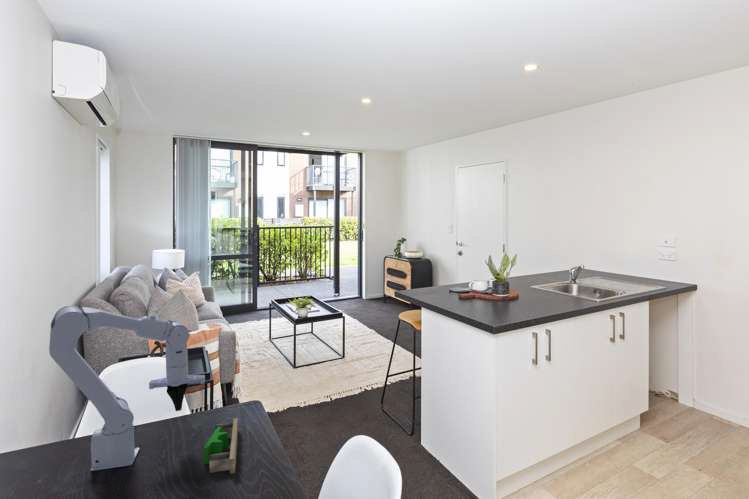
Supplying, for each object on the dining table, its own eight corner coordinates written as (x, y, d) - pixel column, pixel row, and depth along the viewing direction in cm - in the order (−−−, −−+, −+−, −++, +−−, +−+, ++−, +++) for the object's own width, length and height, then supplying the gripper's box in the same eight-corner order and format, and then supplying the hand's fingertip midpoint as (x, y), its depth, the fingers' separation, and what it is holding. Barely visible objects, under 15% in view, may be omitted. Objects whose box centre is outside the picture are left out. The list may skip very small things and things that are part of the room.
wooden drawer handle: (208, 477, 103) (208, 461, 103) (216, 433, 124) (216, 420, 124) (234, 473, 105) (234, 457, 104) (238, 430, 126) (237, 417, 125)
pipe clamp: (218, 464, 109) (217, 448, 109) (203, 464, 109) (203, 448, 108) (231, 441, 120) (230, 426, 120) (218, 441, 120) (217, 426, 120)
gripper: (145, 371, 113) (147, 419, 114) (202, 366, 117) (203, 412, 118) (151, 362, 119) (153, 407, 120) (205, 358, 123) (206, 401, 125)
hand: (178, 409), depth 120 cm, fingers closed
